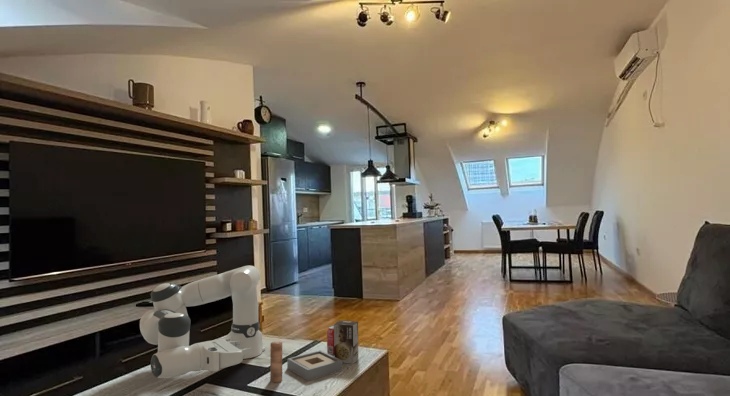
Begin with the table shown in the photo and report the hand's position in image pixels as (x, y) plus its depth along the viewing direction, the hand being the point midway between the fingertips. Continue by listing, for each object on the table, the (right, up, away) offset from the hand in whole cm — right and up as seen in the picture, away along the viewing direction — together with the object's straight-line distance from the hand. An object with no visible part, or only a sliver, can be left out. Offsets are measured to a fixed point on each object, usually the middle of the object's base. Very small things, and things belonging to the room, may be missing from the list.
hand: (245, 346), depth 146 cm
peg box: (+23, -16, +18) cm, 33 cm away
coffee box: (+35, -17, +29) cm, 48 cm away
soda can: (+29, -17, +37) cm, 50 cm away
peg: (+9, -16, +8) cm, 20 cm away
